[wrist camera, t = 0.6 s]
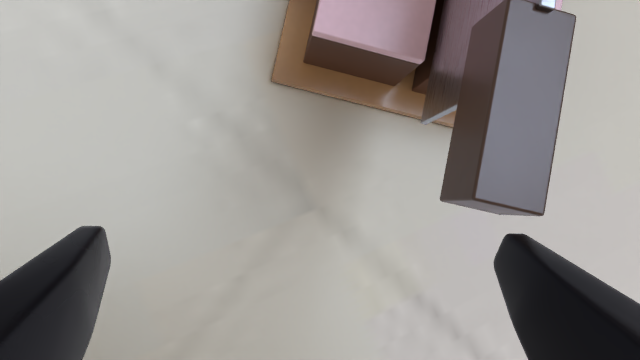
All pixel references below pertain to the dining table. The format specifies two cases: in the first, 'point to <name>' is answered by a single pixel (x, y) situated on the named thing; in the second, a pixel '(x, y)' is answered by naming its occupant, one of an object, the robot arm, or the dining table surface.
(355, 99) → the cake board
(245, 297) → the dining table surface
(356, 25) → the cake
